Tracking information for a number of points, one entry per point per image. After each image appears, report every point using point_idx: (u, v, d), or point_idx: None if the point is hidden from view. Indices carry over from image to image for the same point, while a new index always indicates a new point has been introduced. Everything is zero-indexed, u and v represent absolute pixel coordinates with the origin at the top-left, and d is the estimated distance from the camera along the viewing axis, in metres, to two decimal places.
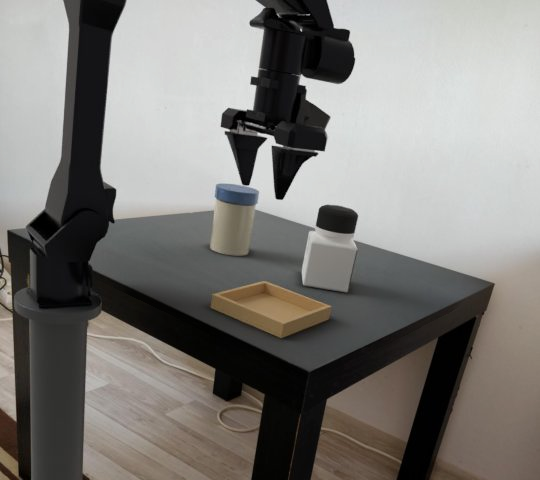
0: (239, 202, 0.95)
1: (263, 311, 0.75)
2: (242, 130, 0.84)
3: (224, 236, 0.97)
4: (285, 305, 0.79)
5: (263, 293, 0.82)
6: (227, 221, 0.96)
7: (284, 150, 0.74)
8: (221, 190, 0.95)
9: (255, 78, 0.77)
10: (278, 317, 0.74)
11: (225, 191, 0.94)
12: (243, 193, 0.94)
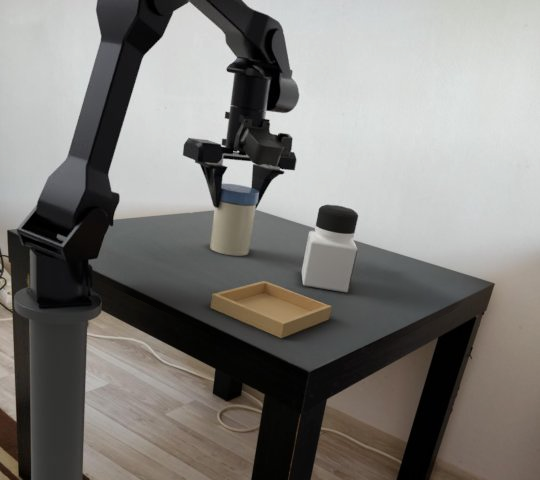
0: (239, 202, 0.95)
1: (263, 311, 0.75)
2: None
3: (224, 236, 0.97)
4: (285, 305, 0.79)
5: (263, 293, 0.82)
6: (227, 221, 0.96)
7: (195, 160, 0.94)
8: (221, 190, 0.95)
9: None
10: (278, 317, 0.74)
11: (225, 191, 0.94)
12: (243, 193, 0.94)
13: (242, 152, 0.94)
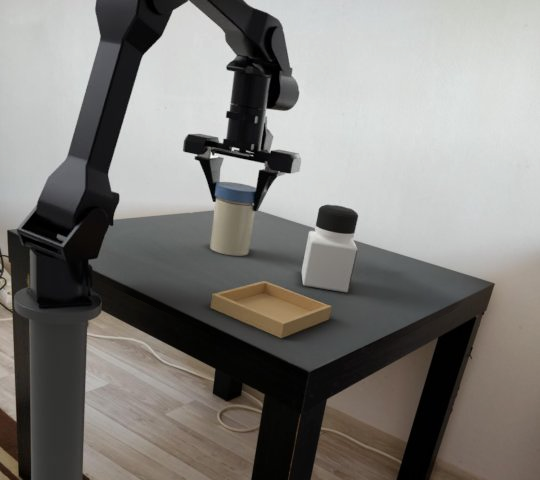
0: None
1: (263, 311, 0.75)
2: (212, 155, 0.95)
3: (224, 236, 0.97)
4: (285, 305, 0.79)
5: (263, 293, 0.82)
6: (227, 221, 0.96)
7: (275, 174, 0.92)
8: None
9: (233, 113, 0.90)
10: (278, 317, 0.74)
11: None
12: (250, 186, 1.00)
13: None
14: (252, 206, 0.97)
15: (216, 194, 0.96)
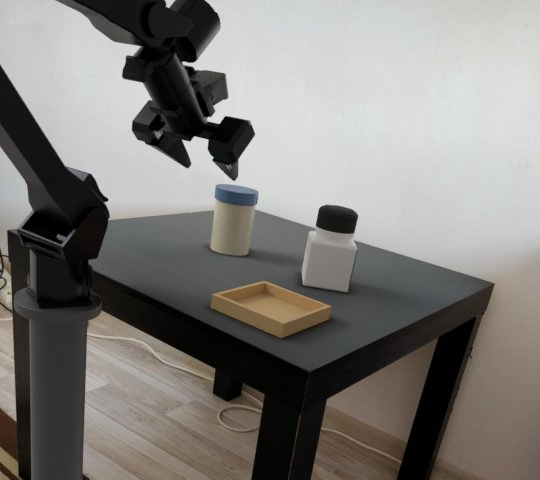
0: None
1: (263, 311, 0.75)
2: (160, 134, 0.86)
3: (224, 236, 0.97)
4: (285, 305, 0.79)
5: (263, 293, 0.82)
6: (227, 221, 0.96)
7: (228, 163, 0.80)
8: (258, 194, 0.97)
9: (154, 108, 0.77)
10: (278, 317, 0.74)
11: None
12: (249, 188, 1.00)
13: None
14: (252, 206, 0.97)
15: (216, 196, 0.96)
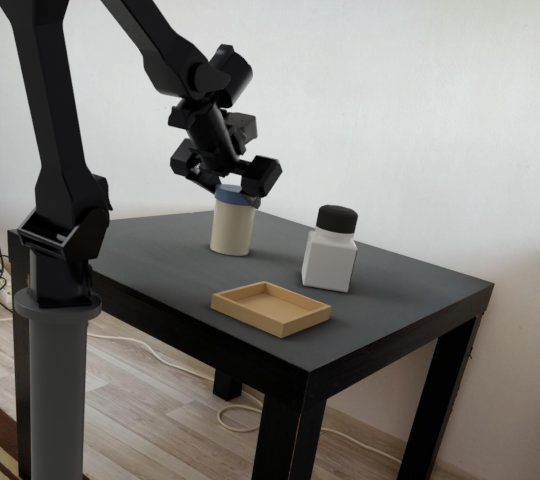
0: None
1: (263, 311, 0.75)
2: (199, 170, 0.94)
3: (224, 236, 0.97)
4: (285, 305, 0.79)
5: (263, 293, 0.82)
6: (227, 221, 0.96)
7: (254, 196, 0.90)
8: None
9: (193, 149, 0.87)
10: (278, 317, 0.74)
11: None
12: None
13: None
14: (252, 206, 0.97)
15: (216, 196, 0.96)
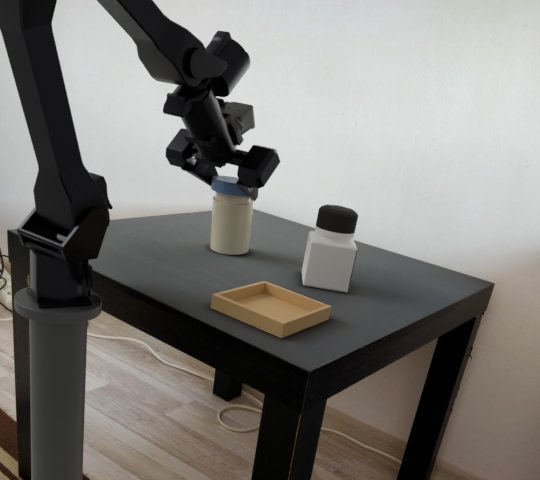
0: None
1: (263, 311, 0.75)
2: (195, 160, 0.93)
3: (223, 236, 0.97)
4: (285, 305, 0.79)
5: (263, 293, 0.82)
6: (225, 221, 0.96)
7: (251, 186, 0.88)
8: None
9: (189, 138, 0.85)
10: (278, 317, 0.74)
11: None
12: None
13: None
14: (249, 204, 0.96)
15: (213, 188, 0.94)
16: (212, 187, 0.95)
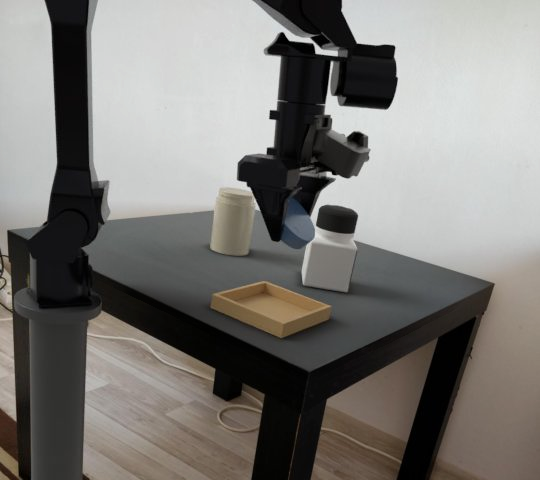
0: (301, 248, 0.74)
1: (263, 311, 0.75)
2: None
3: (225, 236, 0.97)
4: (285, 305, 0.79)
5: (263, 293, 0.82)
6: (227, 221, 0.96)
7: (246, 183, 0.67)
8: (290, 234, 0.71)
9: None
10: (278, 317, 0.74)
11: (296, 238, 0.71)
12: (310, 240, 0.73)
13: None
14: (252, 206, 0.97)
15: None
16: None
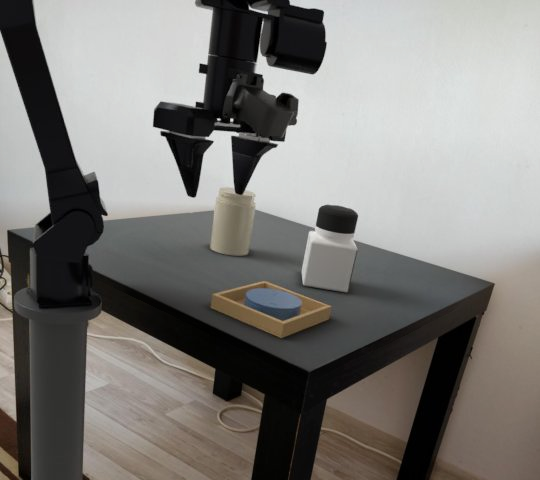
0: None
1: None
2: (243, 133, 0.76)
3: (225, 236, 0.97)
4: None
5: None
6: (227, 221, 0.96)
7: (160, 132, 0.67)
8: (267, 309, 0.72)
9: None
10: None
11: (274, 310, 0.71)
12: (295, 308, 0.73)
13: (226, 120, 0.70)
14: (252, 206, 0.97)
15: None
16: None
